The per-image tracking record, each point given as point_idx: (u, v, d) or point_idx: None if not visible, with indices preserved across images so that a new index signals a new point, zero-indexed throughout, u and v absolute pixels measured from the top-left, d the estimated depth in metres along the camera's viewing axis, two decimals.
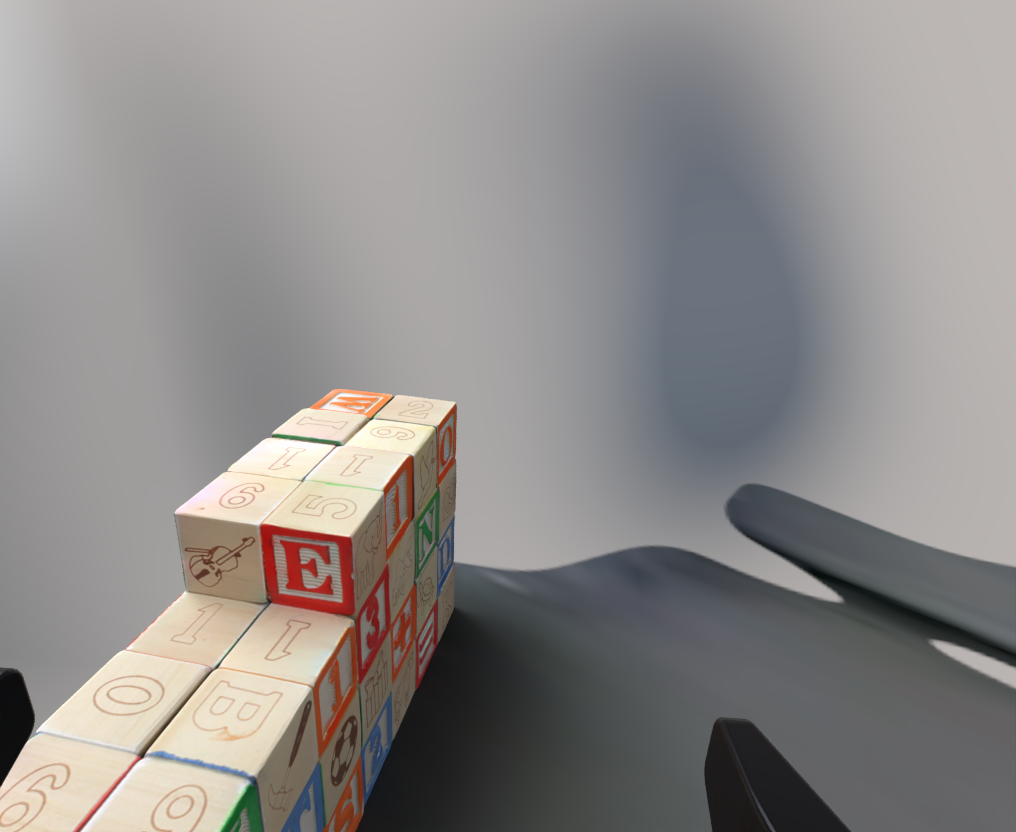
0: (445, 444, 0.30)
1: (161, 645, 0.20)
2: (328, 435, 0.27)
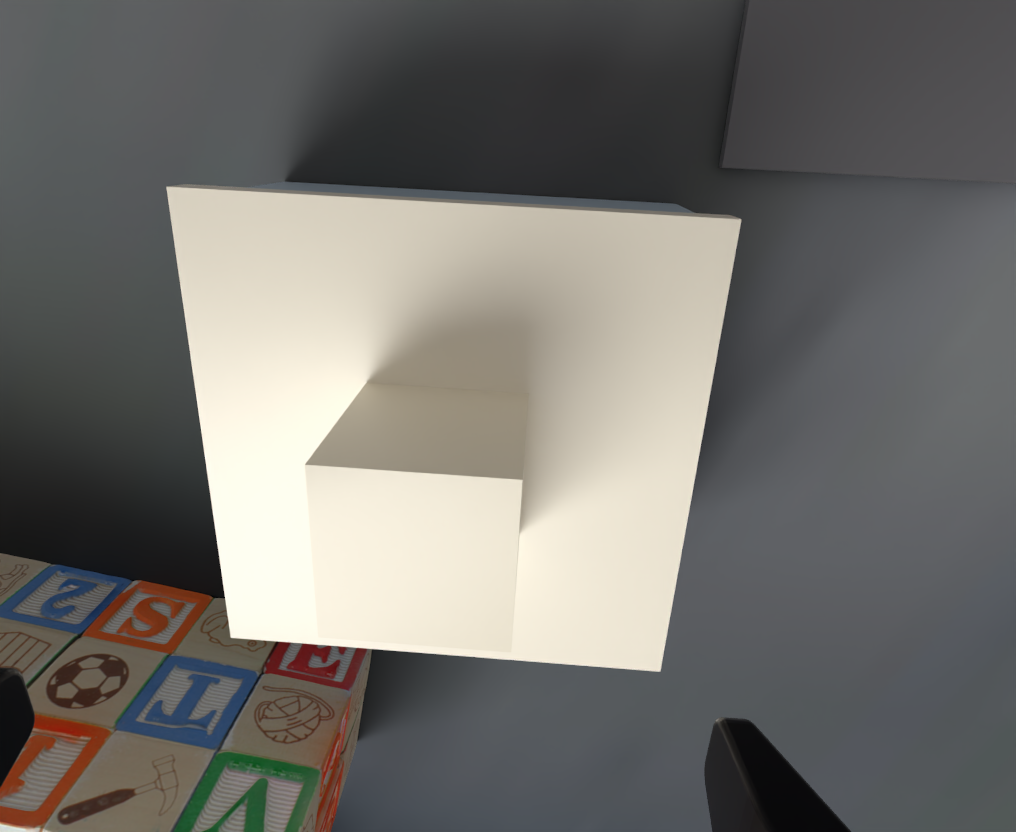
0: None
1: None
2: None
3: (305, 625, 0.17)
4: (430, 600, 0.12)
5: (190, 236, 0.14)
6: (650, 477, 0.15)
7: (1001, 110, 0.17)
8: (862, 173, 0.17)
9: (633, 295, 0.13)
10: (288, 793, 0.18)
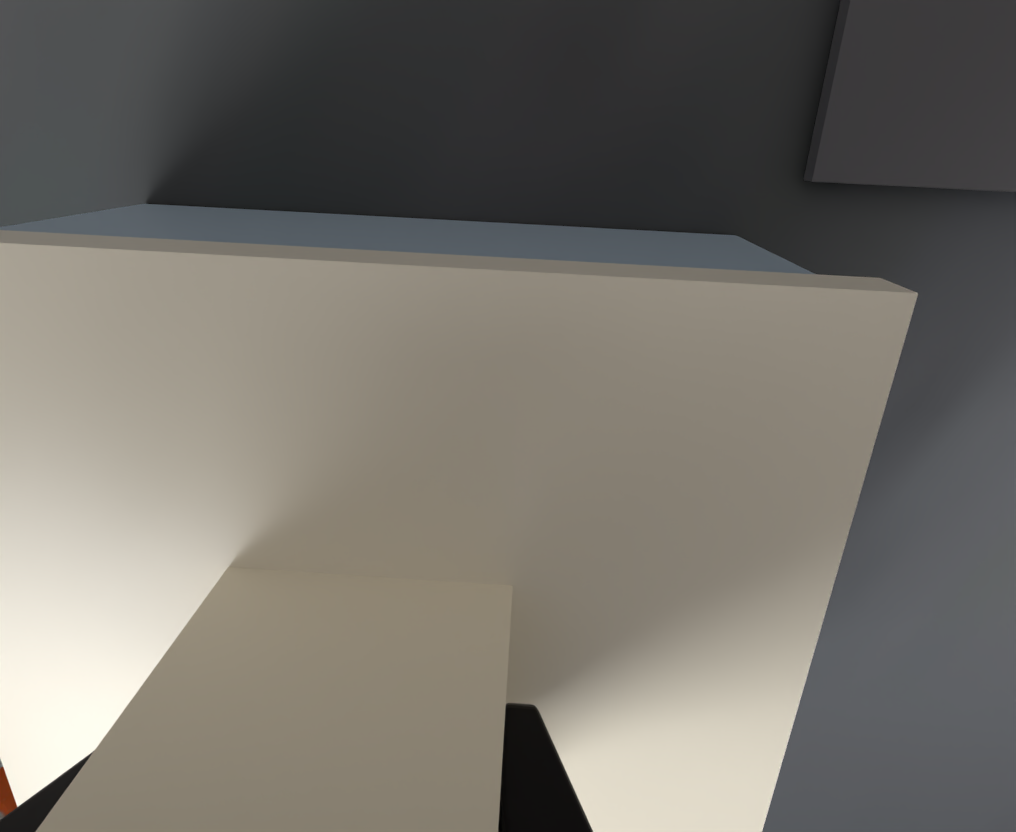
0: None
1: None
2: None
3: None
4: None
5: None
6: (720, 712, 0.09)
7: None
8: None
9: (703, 427, 0.07)
10: None
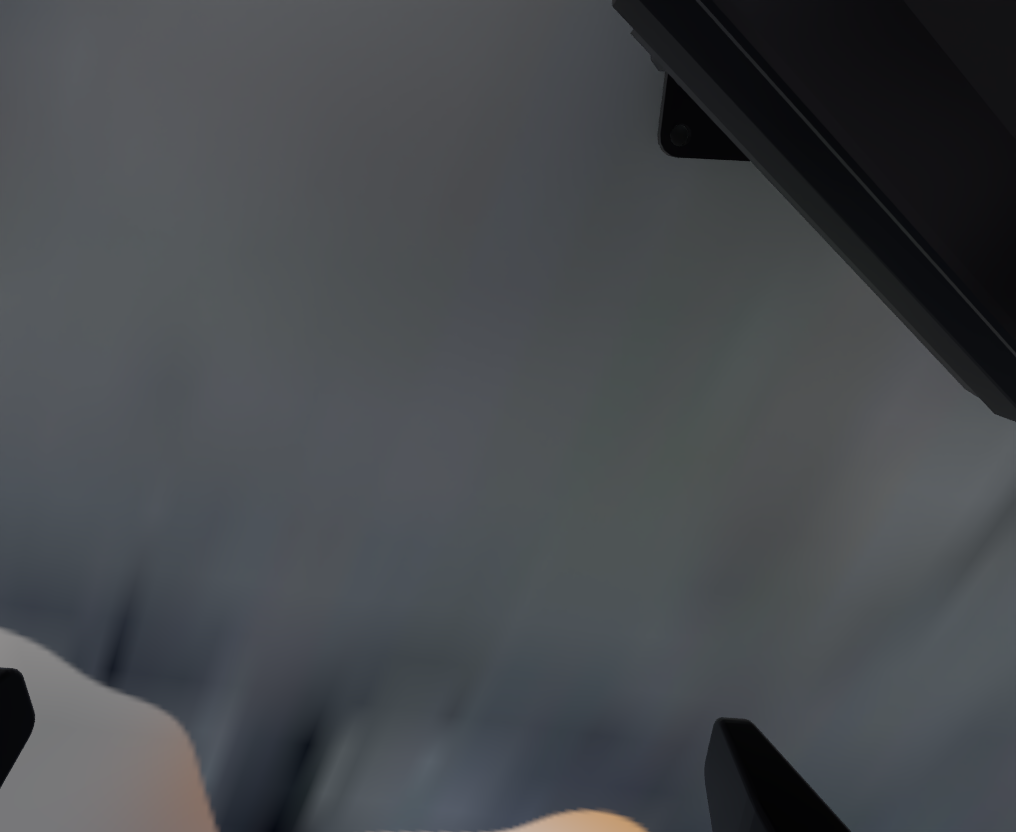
0: None
1: None
2: None
3: None
4: None
5: None
6: None
7: None
8: None
9: None
10: None
